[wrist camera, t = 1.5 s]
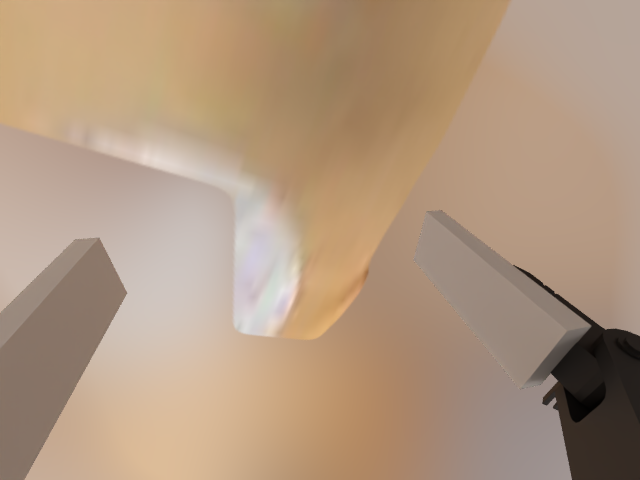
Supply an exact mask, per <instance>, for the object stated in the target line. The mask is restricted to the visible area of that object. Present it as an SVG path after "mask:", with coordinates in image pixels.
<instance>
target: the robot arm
mask: <svg viewBox="0 0 640 480" xmlns="http://www.w3.org/2000/svg"><path fill="white" fill-rule="evenodd" d="M414 261H415V262H416V263H417V265H418V266H419V267H420V269H421V270H422V271H423V272H424V273H425V275H426V276H427V277H428V278H429V279H430V281H431V282H432V283H433V284H434V286H436V288H437V289H438V290H439V291H440V293H441V294H442V295H443V296H444V298H445V299H446V300H447V301H448V303H449V304H450V305H451V306H452V307H453V309H454V310H455V311H456V312H457V313H458V315H459V316H460V317H461V318H462V320H463V321H464V322H465V323H466V324H467V326H468V327H469V328H470V329H471V331H472V332H473V333H474V334H475V335H476V337H477V338H478V339H479V340H480V341H481V343H482V344H483V345H484V346H485V348H486V349H487V350H488V351H489V352H490V354H491V355H492V356H493V357H494V358H495V360H496V361H497V362H498V363H499V364H500V366H501V367H502V368H503V369H504V371H505V372H506V373H507V374H508V376H509V377H510V378H511V379H512V380H513V382H514V383H515V384H516V385H517V387H518V388H519V389H524V388H528V387H533V386H537V385H541V384H542V383H543V381H544V380H545V379H546V378H547V377H548V376H549V375H550V373H551V374H552V375H553V376H554V377H555V378H556V379H557V380H558V382H557V383H556V384H555V385H554V386H553V387H552V389H551V390H550V391H549V392H548V393H547V394H546V395H545V396H544V397H543V404H544V405H548V404H549V403H550V401H552V399H553V398H554V397H555V398H556V401H557V403H556V404H555V405H554V406H553V408H554V409H556V410H558V411H559V416H560V420H561V426H562V431H563V436H564V441H565V446H566V451H567V456H568V461H569V466H570V471H571V476H572V480H640V336H638V335H636V334H633V333H631V332H628V331H624V330H619V329H607V330H605V329H604V328H602V327H601V326H599V325H598V324H597V323H595V322H594V321H593V320H591V319H590V318H589V317H587V316H586V315H585V314H583V313H582V312H581V311H579V310H578V309H577V308H575V307H574V306H573V305H571V304H570V303H569V302H568V301H566V300H565V299H564V298H562V297H561V296H560V295H558V294H555V293H554V291H553V290H551V289H550V288H549V287H548V286H546V285H545V286H544V285H543V283H542V282H541V281H540V280H538V279H537V278H536V277H534V276H533V275H532V274H530V273H529V272H527V271H525V270H523V269H521V268H519V267H517V266H515V265H512V264H511V263H509V262H508V261H507V260H505V259H504V258H503V257H501V256H500V255H499V254H498V253H496V252H495V251H494V250H492V249H491V248H490V247H488V246H487V245H486V244H485V243H483V242H482V241H481V240H479V239H478V238H477V237H475V236H474V235H473V234H472V233H470V232H469V231H468V230H466V229H465V228H464V227H463V226H461V225H460V224H459V223H457V222H456V221H455V220H453V219H452V218H451V217H450V216H448V215H447V214H446V213H445V212H443V211H442V210H439V211H427V212H426V216H425V219H424V223H423V227H422V230H421V234H420V238H419V242H418V245H417V249H416V253H415V256H414ZM126 294H127V292H126V290H125V288H124V286H123V284H122V282H121V280H120V278H119V276H118V274H117V272H116V270H115V268H114V266H113V264H112V262H111V260H110V258H109V256H108V254H107V252H106V250H105V248H104V247H103V244H102V242H101V240H100V238H89V239H76V240H74V241H73V242H72V243H71V244H70V245H69V246H68V247H67V248H66V249H65V250H64V251H63V252H62V253H61V254H60V255H59V256H58V257H57V258H56V259H55V260H54V261H53V262H52V263H51V264H50V265H49V266H48V267H47V268H45V270H43V271H42V273H40V274H39V275H38V276H37V277H36V278H35V279H34V280H33V281H32V282H31V283H30V284H29V285H28V286H27V287H26V288H25V289H24V290H23V291H22V292H21V293H20V294H19V295H18V296H17V297H16V298H15V299H14V300H13V301H12V302H11V303H10V304H9V305H8V306H7V307H6V308H5V309H4V310H3V311H2V312H1V313H0V480H24V479H25V478H26V476H27V474H28V472H29V470H30V469H31V467H32V465H33V463H34V461H35V459H36V458H37V456H38V454H39V452H40V450H41V449H42V447H43V445H44V443H45V441H46V439H47V438H48V436H49V434H50V432H51V430H52V429H53V427H54V425H55V423H56V421H57V419H58V418H59V416H60V414H61V412H62V410H63V409H64V407H65V405H66V403H67V401H68V399H69V398H70V396H71V394H72V392H73V391H74V389H75V387H76V385H77V383H78V381H79V380H80V378H81V376H82V374H83V372H84V371H85V369H86V367H87V365H88V363H89V362H90V360H91V358H92V356H93V354H94V352H95V351H96V348H97V347H98V345H99V343H100V341H101V340H102V338H103V336H104V334H105V333H106V331H107V329H108V327H109V325H110V323H111V321H112V320H113V318H114V316H115V314H116V313H117V311H118V309H119V307H120V305H121V304H122V302H123V300H124V298H125V296H126Z"/></svg>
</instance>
